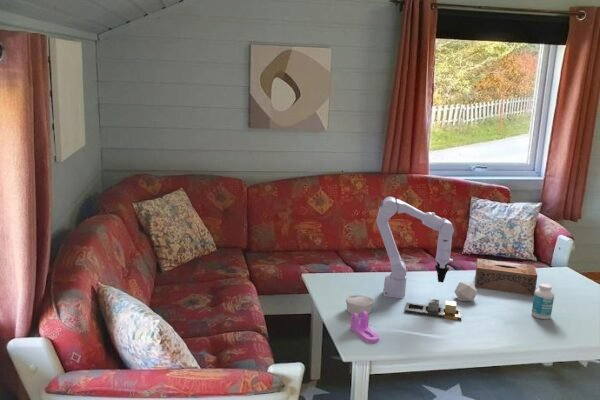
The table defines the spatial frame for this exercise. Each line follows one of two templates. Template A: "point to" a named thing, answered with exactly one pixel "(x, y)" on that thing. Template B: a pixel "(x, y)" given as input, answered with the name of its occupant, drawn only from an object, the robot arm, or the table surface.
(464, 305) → the table surface
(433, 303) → the matte gray cube
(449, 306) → the light wood cube
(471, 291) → the die
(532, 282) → the tissue box cover
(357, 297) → the ramekin
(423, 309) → the rail
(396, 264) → the robot arm
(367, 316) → the bracket
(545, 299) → the pill bottle
